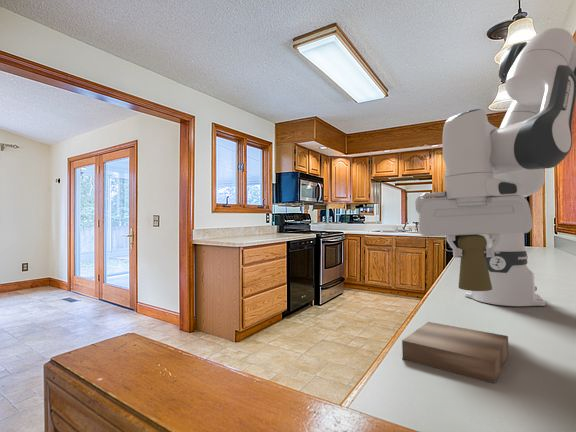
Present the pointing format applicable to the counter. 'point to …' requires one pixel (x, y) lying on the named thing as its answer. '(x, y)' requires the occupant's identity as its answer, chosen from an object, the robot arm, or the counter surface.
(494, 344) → the walnut base
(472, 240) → the olive pawn
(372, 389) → the counter surface
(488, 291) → the robot arm
